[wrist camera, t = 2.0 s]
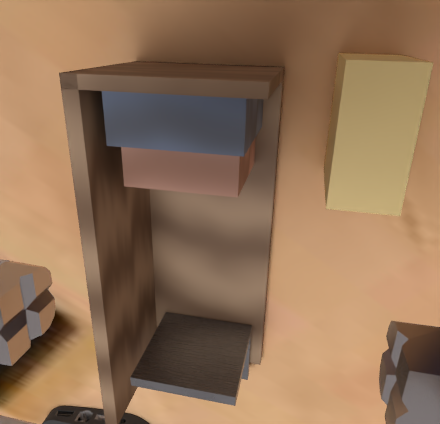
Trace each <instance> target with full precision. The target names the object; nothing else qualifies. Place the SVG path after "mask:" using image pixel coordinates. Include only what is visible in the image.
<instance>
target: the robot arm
mask: <svg viewBox="0 0 440 424" xmlns="http://www.w3.org/2000/svg"><path fill="white" fill-rule="evenodd" d="M51 284H52V278H51V273H50V271H49V270H48V269H47V268H46V267H42V266H36V265H31V264H25V263H19V262H14V261H8V260H1V259H0V364H4V365H10V366H12V365H13V364H14V363H15V362H16V361H17V360H18V359H19V358H20V357H21V356H22V355H23V354H24V353H25V352H26V351H27V350H28V349H29V348H30V344H31V339H34V338H36V337H38V336H41V335H42V334H43V333H44V332H45V331H46V330H47V329H48V328H49V327H50V325H51V322H52V320H53V318H54V315H55V299H54V297H53V296H52V294H51V293H50V292H49V290H48V289H49V287H50V286H51ZM386 337H387V341H388V346H389V349H388V350H387V351H385V352H384V353H383V354H382V359H381V364H380V375H379V384H380V393H381V399H382V400H383V401H384V402H385V403H386V404H387V409H386V413H385V421H386V424H440V327H434V326H427V325H419V324H412V323H404V322H397V321H391V323H390V325H389V328H388V332H387V336H386ZM0 424H35V423H31V422H27V421H22V420H18V419H14V418H10V417H5V416H1V415H0Z"/></svg>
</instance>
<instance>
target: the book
mask: <svg viewBox="0 0 440 424" xmlns="http://www.w3.org/2000/svg"><path fill="white" fill-rule="evenodd" d="M432 67H433V62H429V61H425V60H420V59H416V58H412V57H408V56H404V55H386V54H353V53H338V61H337V69H336V76H335V84H334V92H333V100H332V108H331V116H330V123H329V131H328V139H327V147H326V155H325V163H324V181H325V200H326V209H332V210H342V211H352V212H362V213H372V214H382V215H392V216H400V214H401V210H402V205H403V201H404V196H405V191H406V187H407V182H408V178H409V173H410V168H411V164H412V159H413V155H414V150H415V145H416V141H417V136H418V132H419V127H420V122H421V118H422V113H423V109H424V104H425V99H426V95H427V90H428V86H429V81H430V76H431V72H432Z"/></svg>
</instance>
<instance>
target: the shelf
mask: <svg viewBox="0 0 440 424" xmlns="http://www.w3.org/2000/svg"><path fill="white" fill-rule="evenodd" d="M59 76H60V84H61V91H62V99H63V106H64V114H65V121H66V129H67V137H68V144H69V152H70V159H71V167H72V175H73V182H74V190H75V197H76V205H77V212H78V220H79V228H80V235H81V243H82V250H83V258H84V265H85V273H86V281H87V288H88V296H89V303H90V311H91V318H92V326H93V334H94V341H95V349H96V356H97V364H98V371H99V379H100V387H101V394H102V402H103V409H104V417H105V424H119V422H120V420H121V418H122V416H123V414H124V412H125V410H126V409H127V407H128V405H129V403H130V401H131V399H132V397H133V395H134V393H135V391H136V389H137V386H132V385H131V380H130V377H131V375H132V373H133V371H134V370H135V368H136V366H137V364H138V362H139V360H140V359H141V357H142V355H143V353H144V351H145V349H146V348H147V346H148V344H149V342H150V340H151V338H152V337H153V335H154V333H155V331H156V329H157V327H158V326H159V324H160V322H161V320H162V318H163V316H164V314H165V313H166V312H168V313H175V314H181V315H188V316H194V317H200V318H207V319H213V320H220V321H226V322H232V323H239V324H245V325H251V326H252V330H251V346H250V362H249V363H254V364H259V365H260V363H261V357H262V345H263V332H264V320H265V307H266V294H267V281H268V269H269V256H270V243H271V231H272V218H273V205H274V193H275V180H276V167H277V154H278V142H279V129H280V116H281V104H282V91H283V78H284V67H270V66H243V65H216V64H189V63H162V62H129V63H122V64H116V65H109V66H102V67H96V68H89V69H82V70H76V71H69V72H62V73H59Z"/></svg>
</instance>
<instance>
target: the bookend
mask: <svg viewBox="0 0 440 424" xmlns="http://www.w3.org/2000/svg"><path fill="white" fill-rule="evenodd" d="M251 330H252V326H251V325H245V324H239V323H232V322H226V321H220V320H213V319H207V318H200V317H194V316H188V315H181V314H175V313H168V312H166V313H165V314H164V316H163V318H162V320H161V322H160V324H159V326H158V327H157V329H156V331H155V333H154V335H153V337H152V338H151V340H150V342H149V344H148V346H147V348H146V349H145V351H144V353H143V355H142V357H141V359H140V360H139V362H138V364H137V366H136V368H135V370H134V371H133V373H132V375H131V377H130V380H131V385H132V386H137V387H142V388H147V389H152V390H157V391H163V392H168V393H173V394H178V395H183V396H188V397H193V398H198V399H204V400H209V401H214V402H219V403H224V404H229V405H234V406H235V405H236V400H237V396H238V391H239V387H240V382H241V379H246V380H248V376H249V362H250V346H251Z"/></svg>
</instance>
